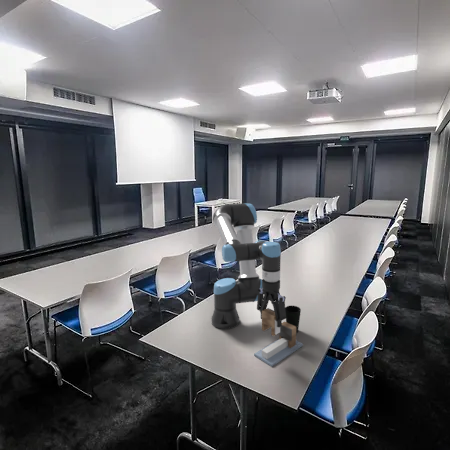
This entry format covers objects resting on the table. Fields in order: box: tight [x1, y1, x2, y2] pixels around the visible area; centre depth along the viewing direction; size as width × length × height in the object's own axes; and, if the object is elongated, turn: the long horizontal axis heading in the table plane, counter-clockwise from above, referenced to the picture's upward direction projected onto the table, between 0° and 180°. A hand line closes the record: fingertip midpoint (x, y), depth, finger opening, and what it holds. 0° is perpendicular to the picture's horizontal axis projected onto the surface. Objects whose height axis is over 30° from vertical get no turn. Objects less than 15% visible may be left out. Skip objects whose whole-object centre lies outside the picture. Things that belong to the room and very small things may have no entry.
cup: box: [285, 305, 302, 334], centre depth 147 cm, size 8×8×12 cm
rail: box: [254, 338, 304, 367], centre depth 132 cm, size 10×22×4 cm, turn 131°
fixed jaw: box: [278, 321, 297, 348], centre depth 135 cm, size 7×4×9 cm, turn 41°
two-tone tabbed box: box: [261, 307, 279, 337], centre depth 126 cm, size 7×4×9 cm, turn 40°
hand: (270, 329), depth 126 cm, fingers closed on two-tone tabbed box, 7 cm apart
